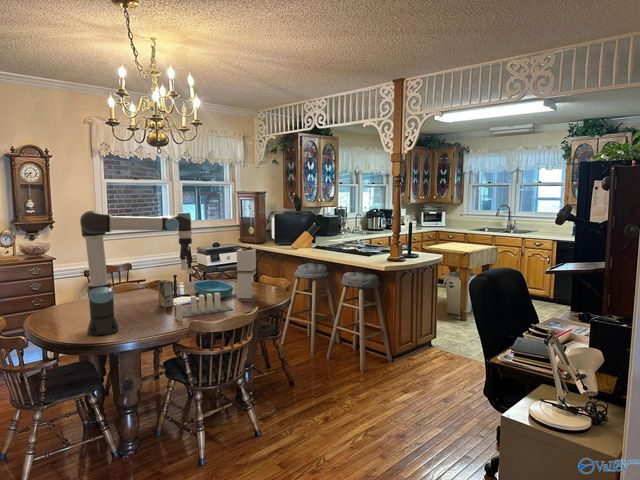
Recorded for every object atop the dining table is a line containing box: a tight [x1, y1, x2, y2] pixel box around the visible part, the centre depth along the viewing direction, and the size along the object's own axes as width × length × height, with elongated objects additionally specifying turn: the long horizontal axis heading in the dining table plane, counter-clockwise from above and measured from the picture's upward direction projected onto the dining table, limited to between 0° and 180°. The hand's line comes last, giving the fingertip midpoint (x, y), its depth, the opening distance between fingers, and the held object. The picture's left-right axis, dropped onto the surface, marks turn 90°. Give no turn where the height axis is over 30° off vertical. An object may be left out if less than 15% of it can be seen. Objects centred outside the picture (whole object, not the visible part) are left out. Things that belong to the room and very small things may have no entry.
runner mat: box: [182, 304, 234, 319], centre depth 267 cm, size 32×12×1 cm, turn 121°
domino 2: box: [190, 295, 198, 314], centre depth 262 cm, size 2×5×10 cm, turn 31°
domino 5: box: [214, 292, 222, 310], centre depth 270 cm, size 2×5×10 cm, turn 31°
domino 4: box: [206, 294, 214, 311], centre depth 267 cm, size 2×5×10 cm, turn 31°
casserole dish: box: [192, 279, 234, 300], centre depth 311 cm, size 37×22×7 cm, turn 39°
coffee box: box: [157, 279, 175, 308], centre depth 280 cm, size 9×6×16 cm
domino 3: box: [198, 294, 206, 312], centre depth 265 cm, size 2×5×10 cm, turn 31°
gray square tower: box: [236, 247, 257, 302], centre depth 295 cm, size 11×11×35 cm
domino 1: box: [175, 301, 183, 322], centre depth 249 cm, size 2×5×10 cm, turn 31°
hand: (186, 271), depth 261 cm, fingers open, 13 cm apart
